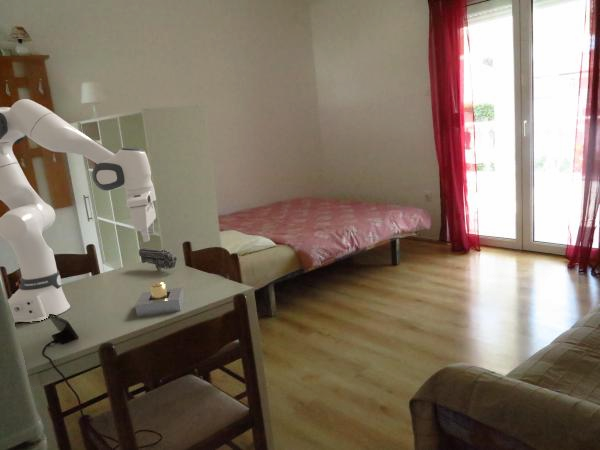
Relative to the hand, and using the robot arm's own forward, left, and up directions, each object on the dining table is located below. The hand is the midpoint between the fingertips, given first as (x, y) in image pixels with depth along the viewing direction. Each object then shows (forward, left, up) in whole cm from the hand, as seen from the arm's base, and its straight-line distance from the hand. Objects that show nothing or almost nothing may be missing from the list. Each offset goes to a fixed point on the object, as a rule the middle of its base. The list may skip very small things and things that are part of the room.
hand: (149, 237), depth 157 cm
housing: (0, -1, -25) cm, 25 cm away
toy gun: (-8, +49, -26) cm, 56 cm away
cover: (0, -1, -24) cm, 24 cm away
